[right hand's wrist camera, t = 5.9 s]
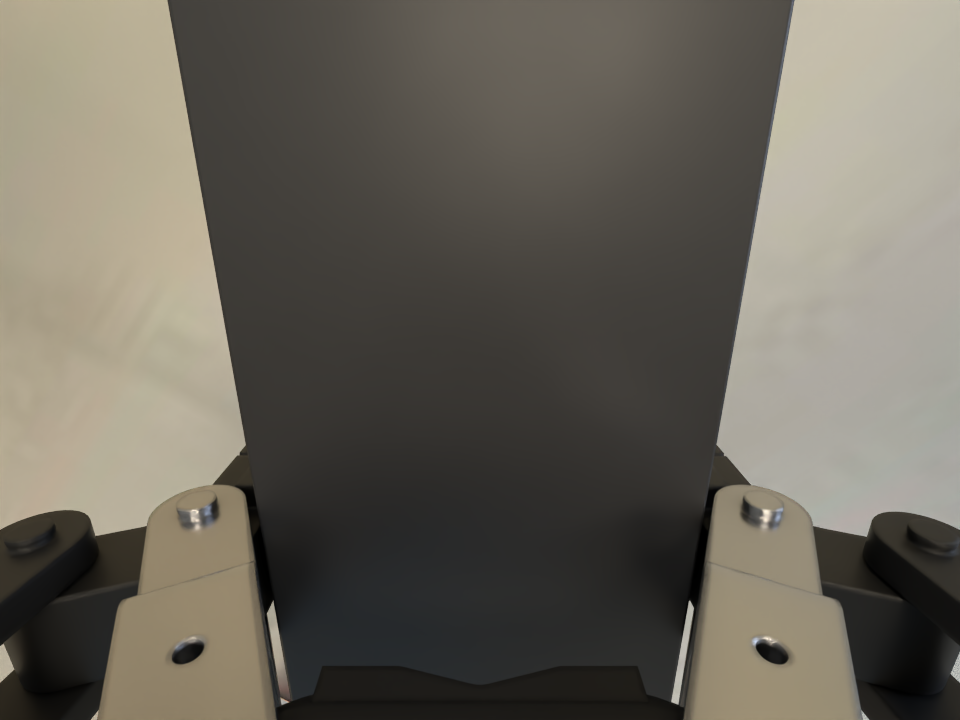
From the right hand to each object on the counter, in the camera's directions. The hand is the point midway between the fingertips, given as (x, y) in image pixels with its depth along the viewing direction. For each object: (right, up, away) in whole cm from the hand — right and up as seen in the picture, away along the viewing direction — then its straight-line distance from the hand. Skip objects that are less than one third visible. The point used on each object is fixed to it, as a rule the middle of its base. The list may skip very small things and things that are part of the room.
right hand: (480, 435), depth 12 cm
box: (0, +9, +5) cm, 11 cm away
